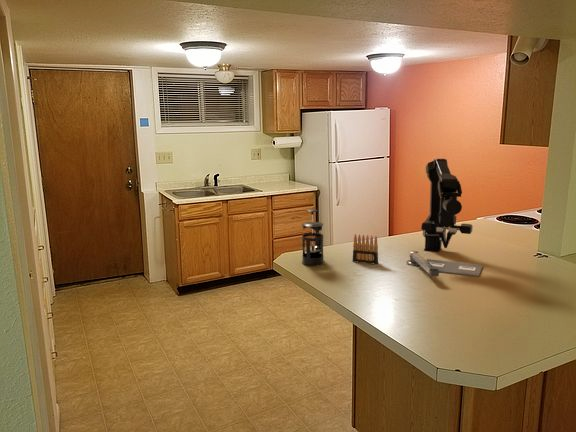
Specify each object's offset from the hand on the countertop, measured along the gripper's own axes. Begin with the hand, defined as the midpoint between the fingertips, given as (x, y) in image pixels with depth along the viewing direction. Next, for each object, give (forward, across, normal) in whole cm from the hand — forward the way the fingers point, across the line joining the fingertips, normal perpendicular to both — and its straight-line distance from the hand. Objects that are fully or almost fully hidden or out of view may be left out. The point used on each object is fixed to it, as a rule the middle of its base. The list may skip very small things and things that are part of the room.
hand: (445, 248), depth 188 cm
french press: (+8, +51, +16) cm, 54 cm away
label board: (+8, -2, 0) cm, 8 cm away
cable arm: (+5, +7, +10) cm, 13 cm away
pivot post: (+8, +12, 0) cm, 15 cm away
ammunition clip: (+8, +32, +6) cm, 33 cm away
